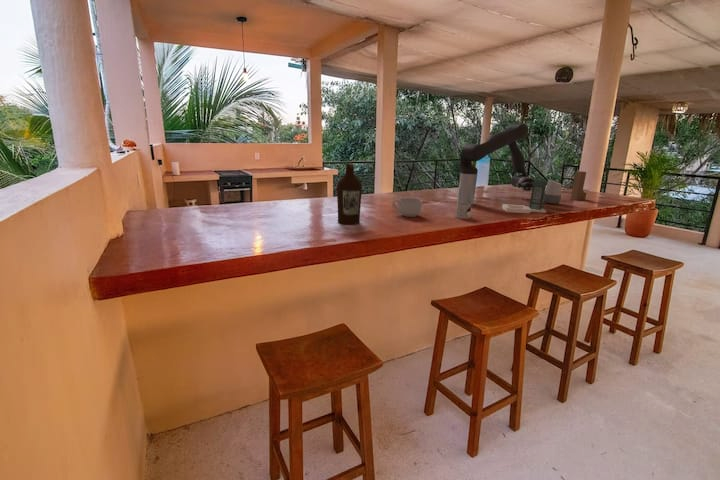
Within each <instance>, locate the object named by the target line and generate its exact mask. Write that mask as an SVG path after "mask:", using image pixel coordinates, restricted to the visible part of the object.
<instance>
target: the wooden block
mask: <svg viewBox="0 0 720 480" xmlns="http://www.w3.org/2000/svg"><path fill="white" fill-rule="evenodd" d="M586 176H587V172H586V171H580V170H576V171H575V174H574V178H573V183H572V190H571V194H570V200H572V201H584V200H586V199H587V194H588V193H587V192H585V191H584V187H585V186H584V185H585V181H586Z"/></svg>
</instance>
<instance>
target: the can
mask: <svg viewBox="0 0 720 480" xmlns="http://www.w3.org/2000/svg"><path fill="white" fill-rule="evenodd" d="M533 180H534V182H533V188H532V190H531V195H530V200H529V201H530V202H529V208H530V209H536V210H540V209H542V208H543V205H544V194H545V190H546V187H547V183H548V180H545V179H544V180H543V179H533Z"/></svg>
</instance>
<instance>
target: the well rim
mask: <svg viewBox="0 0 720 480" xmlns="http://www.w3.org/2000/svg"><path fill="white" fill-rule="evenodd" d="M526 206H527V205H522V204H507V203H505V204H504V203H503V204H502V206H501V207H502V210H505V212H506V213H514V214H515V213H517V214H518V213H519V214H520V213H521V214H531V213H532V212H531V209H529V208H528V207H526Z"/></svg>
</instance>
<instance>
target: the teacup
mask: <svg viewBox="0 0 720 480" xmlns="http://www.w3.org/2000/svg"><path fill="white" fill-rule="evenodd" d="M395 202H397V204H398V206H397V205H396V204H395ZM422 203H423V200H422V199H420V198H417V197H400V198H399V199H398V198H395V199H394V200H392V207H393V208H394V209H396V210H397V211H398V212H400V214H401V215H402V216H404V217H407V218H415V217H418V215H420V213H421V211H422Z"/></svg>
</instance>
